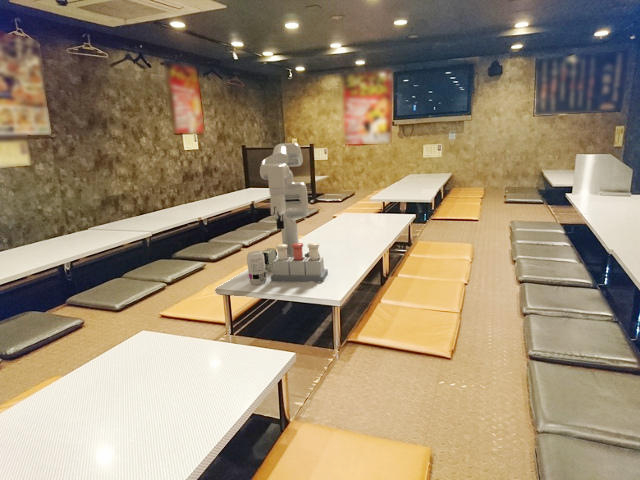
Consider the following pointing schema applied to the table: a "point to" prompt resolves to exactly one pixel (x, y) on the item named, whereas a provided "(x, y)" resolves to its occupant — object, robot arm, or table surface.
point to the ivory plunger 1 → (282, 252)
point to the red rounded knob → (297, 251)
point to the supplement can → (256, 268)
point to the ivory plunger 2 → (313, 251)
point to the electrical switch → (309, 255)
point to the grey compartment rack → (299, 270)
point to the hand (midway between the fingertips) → (280, 228)
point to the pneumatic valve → (269, 258)
